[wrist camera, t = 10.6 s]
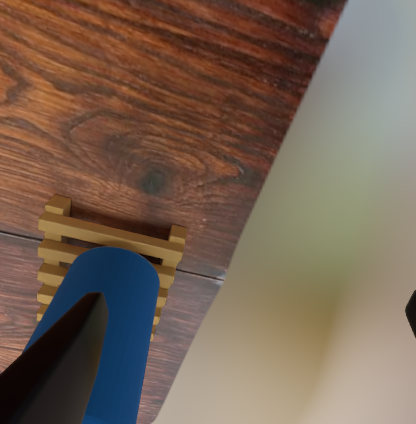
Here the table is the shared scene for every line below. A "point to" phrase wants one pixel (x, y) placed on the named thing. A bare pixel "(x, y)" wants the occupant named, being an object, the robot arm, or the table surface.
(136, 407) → the beverage can
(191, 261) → the table surface
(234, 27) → the table surface
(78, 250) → the rack
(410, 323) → the robot arm
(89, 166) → the table surface
